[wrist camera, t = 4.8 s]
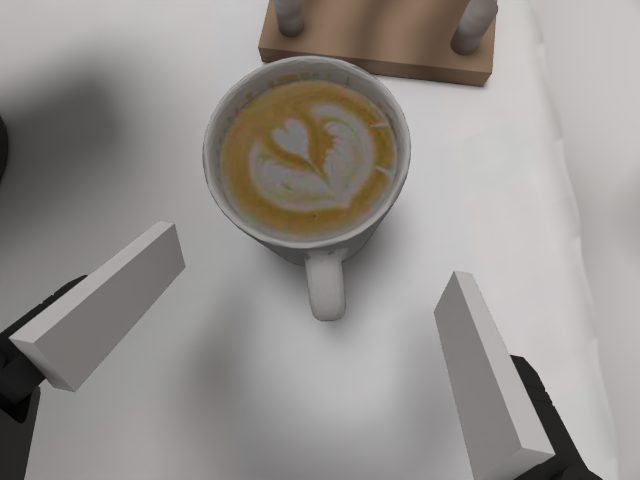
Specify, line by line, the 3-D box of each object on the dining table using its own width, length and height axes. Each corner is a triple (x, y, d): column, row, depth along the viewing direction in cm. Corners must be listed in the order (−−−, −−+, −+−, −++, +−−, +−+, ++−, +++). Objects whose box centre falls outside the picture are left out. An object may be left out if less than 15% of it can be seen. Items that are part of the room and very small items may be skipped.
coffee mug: (264, 150, 24) (216, 52, 14) (378, 155, 23) (412, 56, 13) (246, 307, 21) (174, 322, 12) (373, 316, 21) (410, 339, 11)
